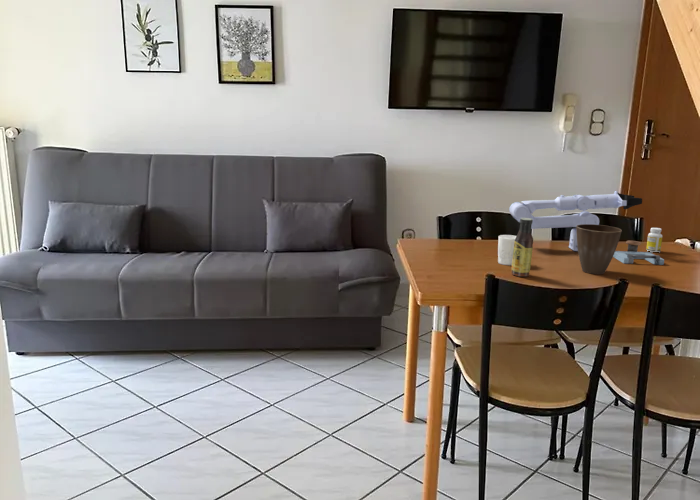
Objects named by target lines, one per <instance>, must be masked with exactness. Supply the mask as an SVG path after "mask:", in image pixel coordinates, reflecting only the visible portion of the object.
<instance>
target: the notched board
mask: <svg viewBox="0 0 700 500" xmlns="http://www.w3.org/2000/svg"><path fill="white" fill-rule="evenodd" d="M628 254H632V255H653V256H654V255H655V253H653V252H648V251H637V252H633V251H627V250H615V253H614V255H613V257H612V258H614V259H616V260H617V261H618V262H621V263H622V264H628V261H629V258H627V255H628ZM634 259H635V260H645V261H647V262H649V263H651V264H653V265H655V264H656V263H657V262H659V261H657V262H655V260H656V259H654V258H633V260H632V262H633V263H632V264H634V261H635V260H634ZM632 264H631V265H632ZM664 264H665V259H664V258H662V257H660V262H659V265H658V266H662V265H663V266H664Z"/></svg>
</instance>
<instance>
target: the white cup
mask: <svg viewBox="0 0 700 500" xmlns="http://www.w3.org/2000/svg"><path fill="white" fill-rule="evenodd" d="M516 236H517V235H512V234H500V235H498V242H497V243H498V244H497V256H498V257H497V262H498V263H497V264H500V265H504V266H512V259H513V249H514V241H515V239H516Z"/></svg>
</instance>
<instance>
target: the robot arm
mask: <svg viewBox="0 0 700 500" xmlns="http://www.w3.org/2000/svg"><path fill="white" fill-rule="evenodd" d="M642 204H643V198H641V197H635V195H632V194H623V193H620V192H618V190H615V191H614V192H613V193H609V194H608V193H607V194H606V193H603V194H592V195H590V194H589V195H583V194H573V195H568V196H567V195H566V196H565V195H564V194H560V195H559V196H557V197H556V198H555V199H540V200H539V199H538V200H537V199H534V200H532V199H531V200H529V199H528V200H522V201H515V202H513V203H511V205H510V206H509V210H508V211H509V213H510V215H511V216H512V218H513V219H515V220H516V221H517V222H518V223H520V219H521V218H530V219H533V222H532V225H531V230H535V229H537V230H538V229H554V228H555V229H558V228H572V227H573V228H572V229H571V231H570V236H569V243H568V244H569V245H568V248H569V249H571V250H572V251H573V252H578V247H577V233H576V226H577V225H581V224H594V225H600V218H599V217H598V216H597V215H596V214H593V213H591V212H589V211H587V210H599V209H619V208H620V207H623V208H622V209H623V210H629V209H630V208H633V207H635V206H639V205H642ZM544 209H555V210H557V211H558V212H559V211H560V212H561V211H574V210H579V211H581V212H579V213H573V214H568V215H567V214H566V215H565V214H564V215H548V216H547V215H545V216H534V215H533V213H534V212H535V211H536V210H544Z"/></svg>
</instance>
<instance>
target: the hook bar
mask: <svg viewBox="0 0 700 500" xmlns="http://www.w3.org/2000/svg"><path fill="white" fill-rule="evenodd" d="M627 258H629V261H628V264H629V265H630V264H631V265H632V263H633V264H634V260H633V258H654V259H656V260H655V262H657V261H659V262H660V258H661V256H660V255H659V254H657V255H656V254H654V256H653V255H632V254H628V255H627ZM632 260H633V262H632ZM659 262H657V263H656V264H655V265H656V266H660V265H659Z"/></svg>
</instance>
